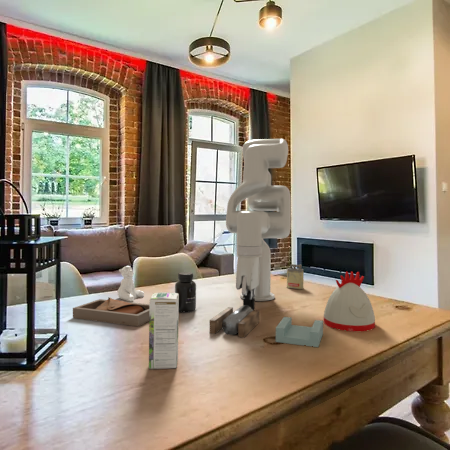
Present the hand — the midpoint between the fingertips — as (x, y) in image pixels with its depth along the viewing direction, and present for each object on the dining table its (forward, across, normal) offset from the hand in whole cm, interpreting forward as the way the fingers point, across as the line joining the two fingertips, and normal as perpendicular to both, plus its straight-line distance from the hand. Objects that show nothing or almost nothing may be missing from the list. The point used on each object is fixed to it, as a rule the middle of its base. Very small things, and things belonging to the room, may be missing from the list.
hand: (248, 311), depth 113 cm
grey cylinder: (+2, +12, 0) cm, 12 cm away
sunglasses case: (+2, +15, -37) cm, 40 cm away
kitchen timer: (+2, -3, +29) cm, 29 cm away
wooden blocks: (+2, +12, 0) cm, 12 cm away
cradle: (+2, +14, +18) cm, 23 cm away
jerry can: (+1, -46, +6) cm, 46 cm away
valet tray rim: (+2, +15, -37) cm, 40 cm away
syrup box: (+2, +40, -6) cm, 41 cm away
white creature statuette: (+2, -6, -48) cm, 48 cm away
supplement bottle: (+2, +1, -21) cm, 21 cm away
